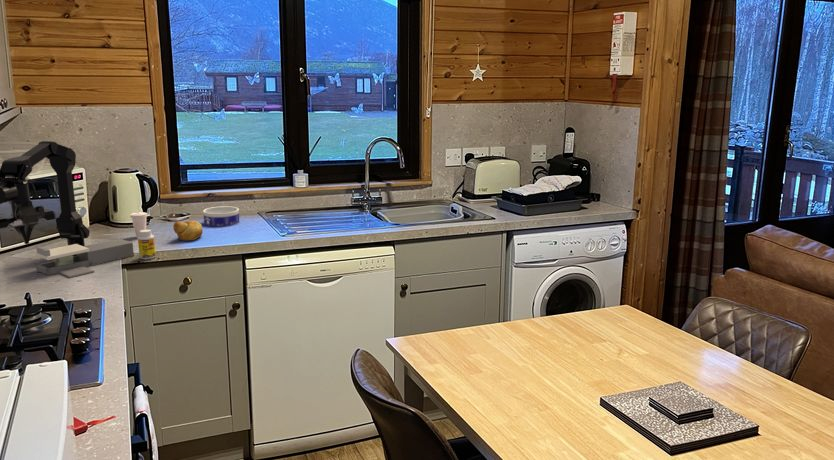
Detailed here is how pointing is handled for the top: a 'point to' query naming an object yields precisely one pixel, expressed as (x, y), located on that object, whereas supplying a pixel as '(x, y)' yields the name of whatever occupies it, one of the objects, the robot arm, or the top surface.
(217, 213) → the dog bowl
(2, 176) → the robot arm
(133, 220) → the smoothie
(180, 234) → the bread roll
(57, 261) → the block
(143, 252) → the supplement bottle
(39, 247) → the cover
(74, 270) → the pad
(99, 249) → the grey long stepped bar
